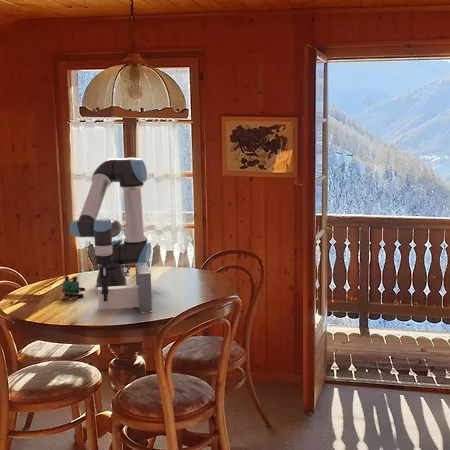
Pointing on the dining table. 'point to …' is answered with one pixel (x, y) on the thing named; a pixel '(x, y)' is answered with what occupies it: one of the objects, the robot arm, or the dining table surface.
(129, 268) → the valve
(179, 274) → the dining table surface
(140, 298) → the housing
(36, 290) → the dining table surface
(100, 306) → the grey rectangular block
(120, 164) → the robot arm
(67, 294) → the binoculars
